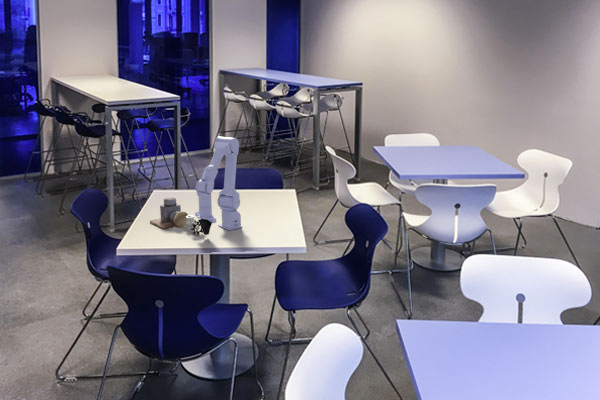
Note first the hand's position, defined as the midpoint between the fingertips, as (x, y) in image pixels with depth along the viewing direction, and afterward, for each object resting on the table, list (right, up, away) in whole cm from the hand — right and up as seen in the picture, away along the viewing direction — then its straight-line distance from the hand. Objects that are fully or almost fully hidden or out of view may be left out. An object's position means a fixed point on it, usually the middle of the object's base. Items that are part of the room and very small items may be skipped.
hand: (206, 234), depth 289 cm
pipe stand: (-20, +5, +23) cm, 31 cm away
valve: (-8, 0, +10) cm, 12 cm away
